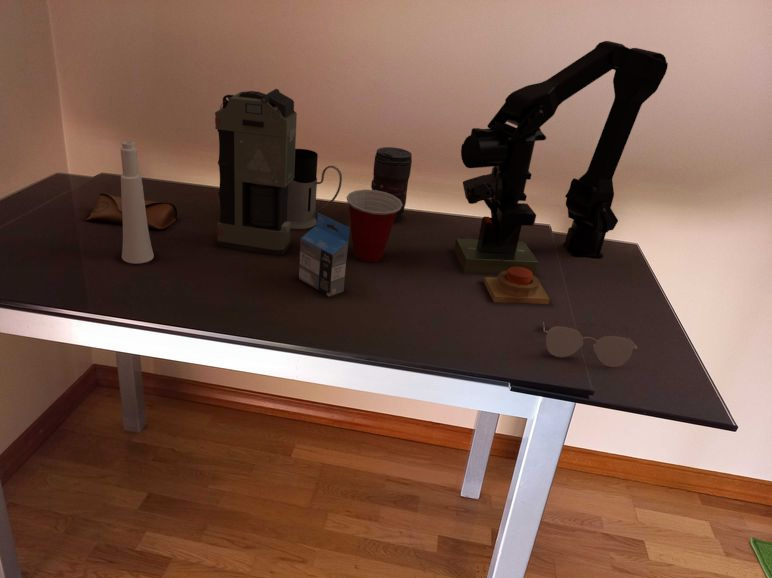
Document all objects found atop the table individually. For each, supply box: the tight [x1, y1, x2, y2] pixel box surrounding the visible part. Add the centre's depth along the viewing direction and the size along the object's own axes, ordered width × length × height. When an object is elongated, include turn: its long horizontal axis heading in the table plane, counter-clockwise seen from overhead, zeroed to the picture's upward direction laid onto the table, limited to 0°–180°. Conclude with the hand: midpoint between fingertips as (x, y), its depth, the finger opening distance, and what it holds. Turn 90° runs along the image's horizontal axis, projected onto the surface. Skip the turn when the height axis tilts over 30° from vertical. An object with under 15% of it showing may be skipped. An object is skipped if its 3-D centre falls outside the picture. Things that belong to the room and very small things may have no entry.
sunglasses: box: [542, 321, 638, 368], centre depth 112 cm, size 14×8×5 cm, turn 73°
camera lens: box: [370, 146, 413, 223], centre depth 154 cm, size 8×8×15 cm
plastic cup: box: [346, 189, 403, 263], centre depth 136 cm, size 11×11×12 cm
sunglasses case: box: [86, 192, 178, 231], centre depth 149 cm, size 18×7×7 cm, turn 78°
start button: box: [506, 267, 534, 285], centre depth 126 cm, size 4×4×2 cm
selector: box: [477, 216, 523, 253], centre depth 136 cm, size 7×3×6 cm, turn 91°
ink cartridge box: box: [298, 212, 351, 297], centre depth 124 cm, size 9×4×12 cm, turn 40°
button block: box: [483, 270, 551, 305], centre depth 128 cm, size 10×8×3 cm
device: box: [214, 88, 298, 256], centre depth 133 cm, size 14×8×30 cm, turn 74°
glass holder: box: [287, 148, 343, 230], centre depth 149 cm, size 9×14×15 cm, turn 64°
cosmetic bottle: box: [120, 140, 155, 265], centre depth 128 cm, size 6×6×22 cm
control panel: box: [453, 238, 539, 276], centre depth 138 cm, size 14×11×3 cm
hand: (497, 242), depth 137 cm, fingers open, 3 cm apart
